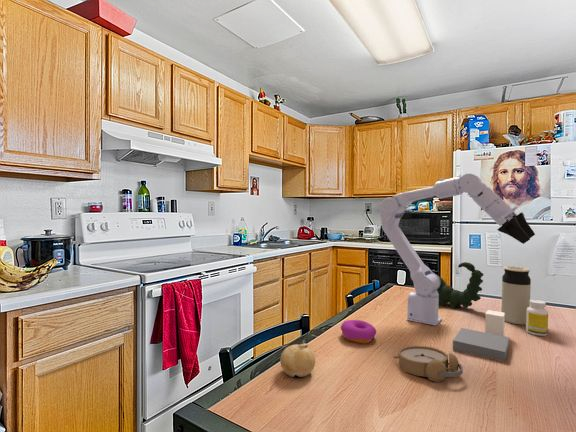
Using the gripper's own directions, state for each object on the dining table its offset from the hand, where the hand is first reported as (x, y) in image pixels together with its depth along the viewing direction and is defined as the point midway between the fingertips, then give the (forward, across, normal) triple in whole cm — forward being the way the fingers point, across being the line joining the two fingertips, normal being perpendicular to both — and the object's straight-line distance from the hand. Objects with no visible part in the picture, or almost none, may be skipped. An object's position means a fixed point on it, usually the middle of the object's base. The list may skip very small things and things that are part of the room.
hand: (529, 239), depth 98 cm
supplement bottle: (+23, +6, +20) cm, 31 cm away
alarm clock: (+10, -41, +27) cm, 50 cm away
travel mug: (+19, +14, +26) cm, 35 cm away
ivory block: (+16, -6, +25) cm, 30 cm away
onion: (-7, -64, +40) cm, 76 cm away
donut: (-6, -36, +44) cm, 57 cm away
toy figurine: (+3, +17, +44) cm, 47 cm away
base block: (+15, -18, +25) cm, 34 cm away
